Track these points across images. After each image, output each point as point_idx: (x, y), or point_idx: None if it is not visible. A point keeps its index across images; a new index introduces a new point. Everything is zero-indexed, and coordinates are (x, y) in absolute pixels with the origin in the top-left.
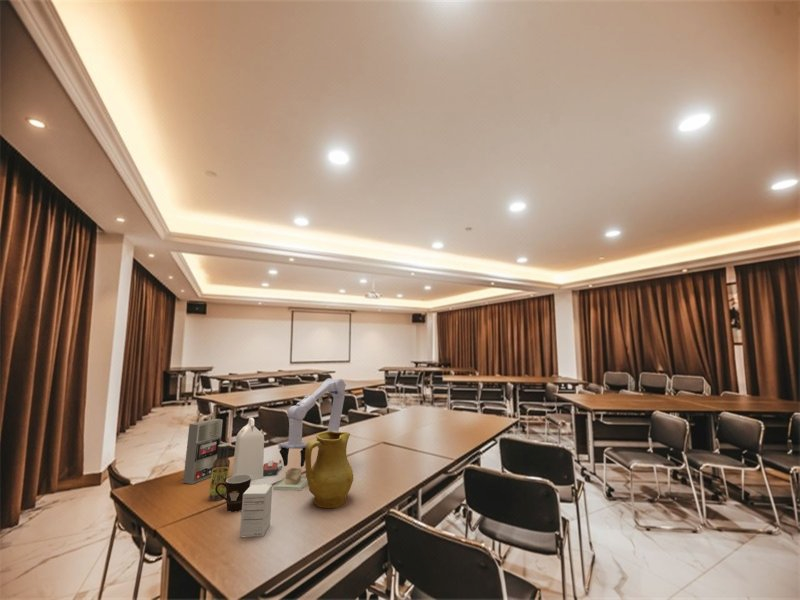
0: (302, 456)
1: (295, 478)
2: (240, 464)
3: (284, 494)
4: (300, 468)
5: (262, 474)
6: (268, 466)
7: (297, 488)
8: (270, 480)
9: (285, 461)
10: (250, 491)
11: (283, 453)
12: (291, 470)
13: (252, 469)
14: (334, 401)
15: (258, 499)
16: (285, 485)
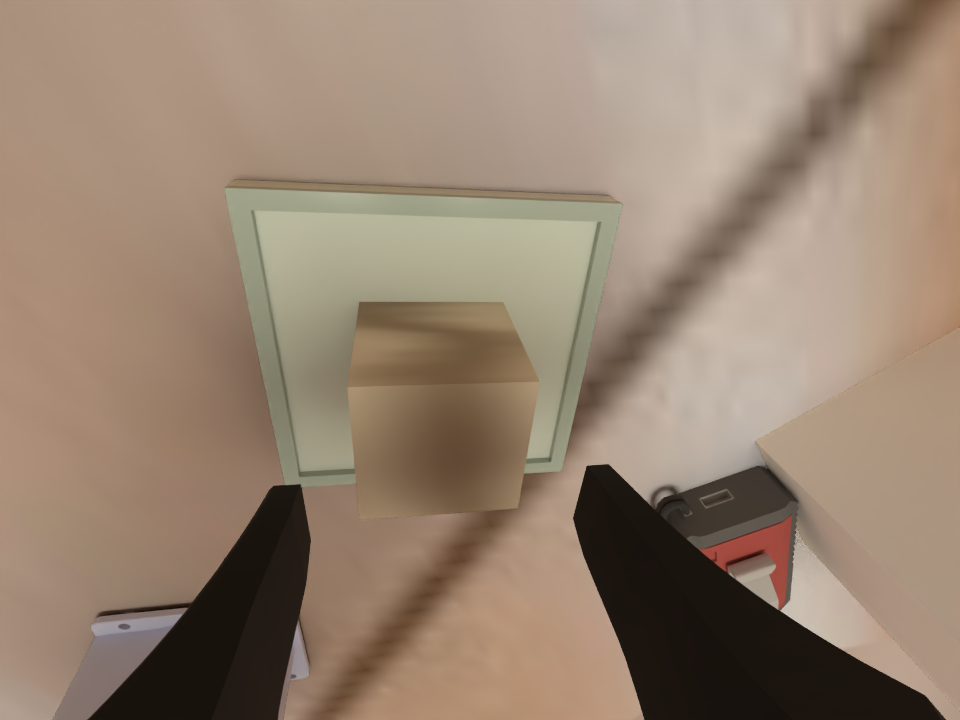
0: (162, 690)
1: (371, 337)
2: None
3: (402, 18)
4: (370, 513)
5: (783, 460)
6: (764, 561)
7: (280, 188)
8: (684, 408)
9: (622, 530)
10: None
11: (785, 681)
12: (472, 439)
13: (934, 457)
14: None
15: None
16: (486, 268)
